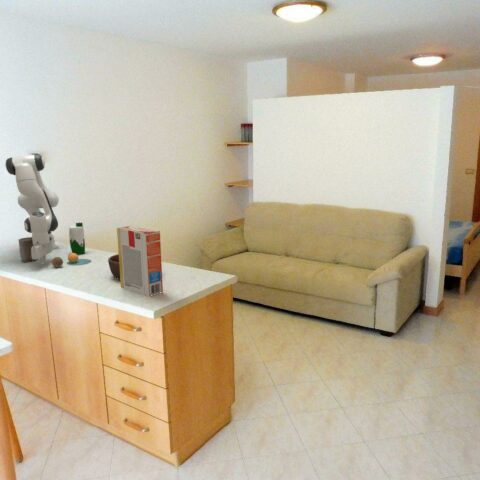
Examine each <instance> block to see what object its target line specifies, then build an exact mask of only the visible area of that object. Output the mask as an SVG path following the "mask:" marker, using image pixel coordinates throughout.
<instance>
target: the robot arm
mask: <svg viewBox="0 0 480 480" xmlns="http://www.w3.org/2000/svg"><path fill="white" fill-rule="evenodd" d="M45 165H46V162H45V159H44V158H43V155H41V154H40V153H35V154H23V155H18V156H14V157H9V158H8V157H7V159H6V160H5V165H4V166H5V169H6V171H7V173H8V174H10V175H12V176H15V182H16V187H17V190H18V192H19V193H20V194H19V195H18V196H17V204H18V206H19V207H20V208H21V209H23V210H25V212H26V213H27V214H28V215H29V217H27V218H25V220H24V221H23V223H24V231H26V232H27V233H30V234H31V237H32V240H33V247H32V249H31V255H32V259H33V260H37V261H39V262H40V264H41V265H44V264H45V263H47V262H46V259H47V255H48V254H50V253H52V251H53V249H58V248H59V245H57V244H56V240H55V236H54V235H53V234H52V232H55V230H57V229H58V227H59V222H58V218H57V217H56V214H55V213H54V210H53V208H56V207H57V206H58V205H59V202H60V201H59V199H60V198H59V196H58V194H57V193H56V192H55V191H54V192H53V191H51V189H49V188H48V187H47V186H46V185H45V183H44V181H43V179H42V176H41V173H40V172H42V171H43V170H44V169H45ZM41 209H43V211H44V212H42V211H41Z"/></svg>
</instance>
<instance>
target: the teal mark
mask: <svg viewBox="0 0 480 480" xmlns="http://www.w3.org/2000/svg"><path fill="white" fill-rule="evenodd" d="M91 262H92V259H88V258H78V261H77V262H76V263H71V262H69V261H67V262H66V265H68V266H82V265H87V264H90V263H91Z"/></svg>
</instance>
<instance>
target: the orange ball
mask: <svg viewBox="0 0 480 480" xmlns="http://www.w3.org/2000/svg"><path fill="white" fill-rule="evenodd" d="M78 259H79V255H77V254H75V253H72V252H71V253H70V254H68V257H67V261H68V262H71V263H76V262H77V261H78Z"/></svg>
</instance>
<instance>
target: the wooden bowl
mask: <svg viewBox="0 0 480 480" xmlns="http://www.w3.org/2000/svg"><path fill="white" fill-rule="evenodd" d="M107 262H108V266H109V270H110V273H111V275H112V276H113V277H114V278H115V279H116V280H120V266H119V253H118V254H113V255H111V256H110V257H108V260H107Z"/></svg>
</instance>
